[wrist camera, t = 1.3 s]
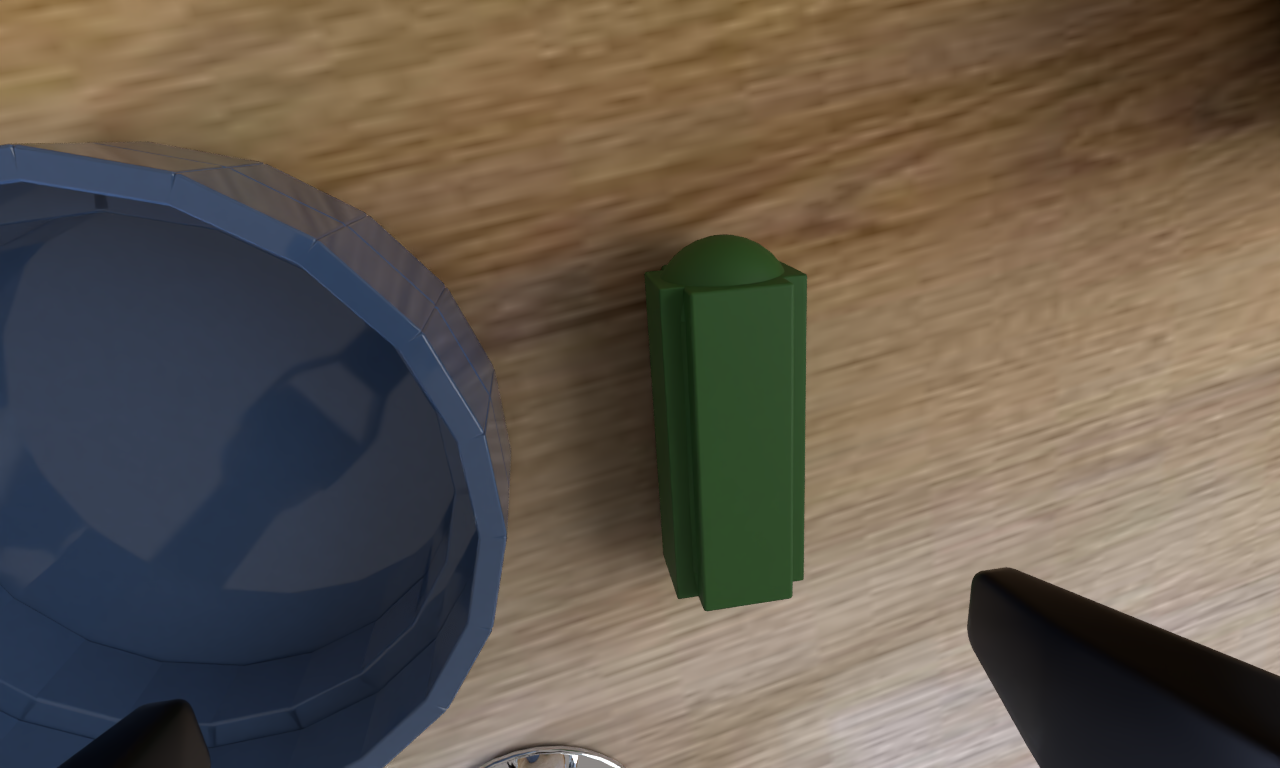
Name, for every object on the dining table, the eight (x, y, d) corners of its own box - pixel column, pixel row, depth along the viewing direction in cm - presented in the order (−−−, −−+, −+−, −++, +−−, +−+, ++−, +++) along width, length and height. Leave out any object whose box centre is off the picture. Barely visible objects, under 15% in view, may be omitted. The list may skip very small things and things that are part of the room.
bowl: (474, 696, 22) (460, 843, 18) (-92, 671, 19) (-288, 841, 15) (546, 211, 18) (553, 237, 13) (-179, 79, 15) (-501, 54, 10)
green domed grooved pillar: (770, 550, 22) (813, 624, 19) (660, 566, 22) (684, 644, 19) (767, 220, 19) (819, 238, 15) (637, 232, 18) (662, 253, 15)
